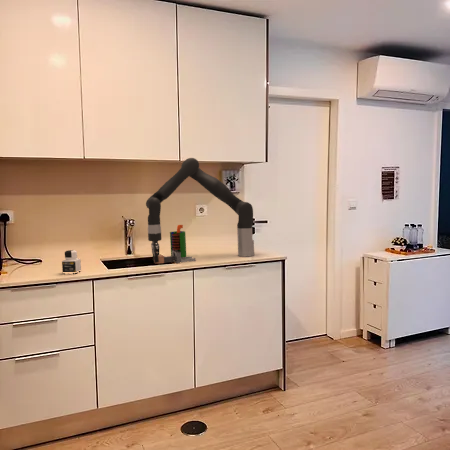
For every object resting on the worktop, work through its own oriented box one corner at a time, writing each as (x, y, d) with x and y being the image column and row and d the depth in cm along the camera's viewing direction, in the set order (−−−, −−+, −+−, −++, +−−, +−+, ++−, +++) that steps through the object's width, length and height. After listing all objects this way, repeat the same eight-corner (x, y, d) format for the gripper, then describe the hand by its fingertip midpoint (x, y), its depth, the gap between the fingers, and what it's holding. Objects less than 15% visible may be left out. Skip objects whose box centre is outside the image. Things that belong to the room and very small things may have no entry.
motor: (168, 257, 261) (166, 225, 259) (176, 255, 269) (175, 224, 267) (181, 258, 256) (180, 225, 254) (189, 255, 264) (188, 224, 262)
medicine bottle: (62, 274, 215) (61, 251, 214) (68, 271, 222) (66, 249, 221) (76, 274, 215) (74, 251, 214) (81, 271, 222) (80, 249, 221)
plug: (172, 260, 246) (172, 254, 246) (174, 261, 242) (174, 255, 242) (154, 262, 242) (154, 255, 242) (155, 263, 239) (155, 256, 238)
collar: (191, 258, 254) (190, 248, 253) (196, 261, 242) (195, 251, 242) (172, 260, 250) (172, 250, 249) (176, 263, 239) (176, 252, 238)
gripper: (146, 231, 245) (147, 260, 246) (150, 233, 231) (151, 264, 233) (158, 230, 247) (160, 259, 249) (163, 233, 234) (164, 263, 235)
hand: (155, 261), depth 241 cm, fingers closed on plug, 4 cm apart
